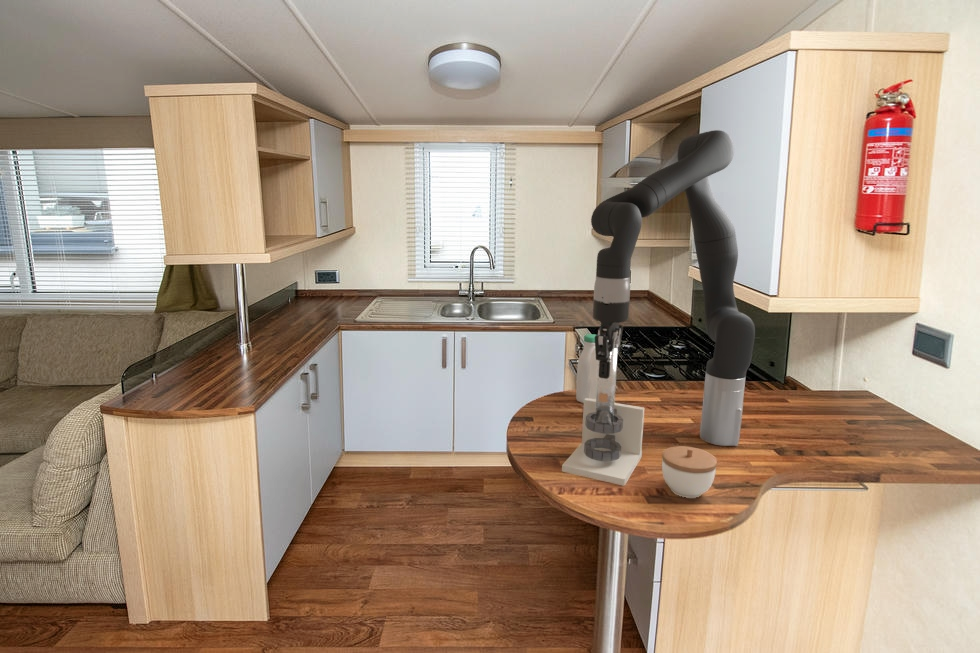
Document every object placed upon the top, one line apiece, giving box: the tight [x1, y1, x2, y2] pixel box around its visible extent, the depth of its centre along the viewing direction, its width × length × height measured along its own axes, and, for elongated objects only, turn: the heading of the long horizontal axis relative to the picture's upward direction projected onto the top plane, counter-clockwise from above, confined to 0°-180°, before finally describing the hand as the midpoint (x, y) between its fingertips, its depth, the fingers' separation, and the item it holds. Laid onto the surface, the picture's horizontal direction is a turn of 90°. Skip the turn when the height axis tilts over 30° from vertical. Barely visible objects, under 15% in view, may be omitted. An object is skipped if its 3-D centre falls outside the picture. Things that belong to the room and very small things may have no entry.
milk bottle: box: [575, 333, 597, 404], centre depth 174 cm, size 8×8×20 cm
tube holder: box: [561, 398, 645, 487], centre depth 133 cm, size 14×16×12 cm
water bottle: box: [589, 348, 598, 399], centre depth 160 cm, size 7×7×25 cm
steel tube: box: [595, 346, 619, 423], centre depth 129 cm, size 4×4×18 cm
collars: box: [584, 409, 623, 461], centre depth 133 cm, size 8×11×8 cm
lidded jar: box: [661, 445, 718, 499], centre depth 121 cm, size 11×11×9 cm
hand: (606, 374), depth 129 cm, fingers closed on steel tube, 4 cm apart
